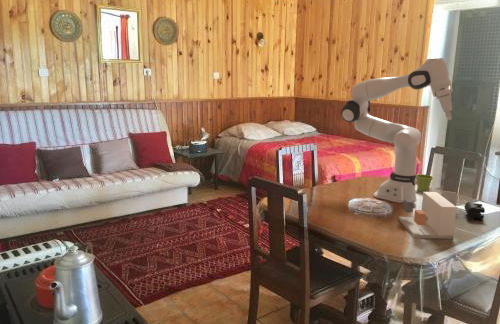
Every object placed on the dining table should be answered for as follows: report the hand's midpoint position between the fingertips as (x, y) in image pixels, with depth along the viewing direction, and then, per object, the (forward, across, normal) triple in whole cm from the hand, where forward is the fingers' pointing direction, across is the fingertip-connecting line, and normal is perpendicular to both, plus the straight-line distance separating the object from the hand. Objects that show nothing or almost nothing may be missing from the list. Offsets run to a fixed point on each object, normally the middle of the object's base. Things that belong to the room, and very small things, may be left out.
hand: (449, 118), depth 198 cm
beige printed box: (+46, -1, -11) cm, 47 cm away
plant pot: (+44, -36, -22) cm, 61 cm away
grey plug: (+34, +24, -26) cm, 49 cm away
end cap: (+49, +5, -1) cm, 50 cm away
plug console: (+41, +31, -22) cm, 56 cm away
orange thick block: (+35, +39, -22) cm, 57 cm away
